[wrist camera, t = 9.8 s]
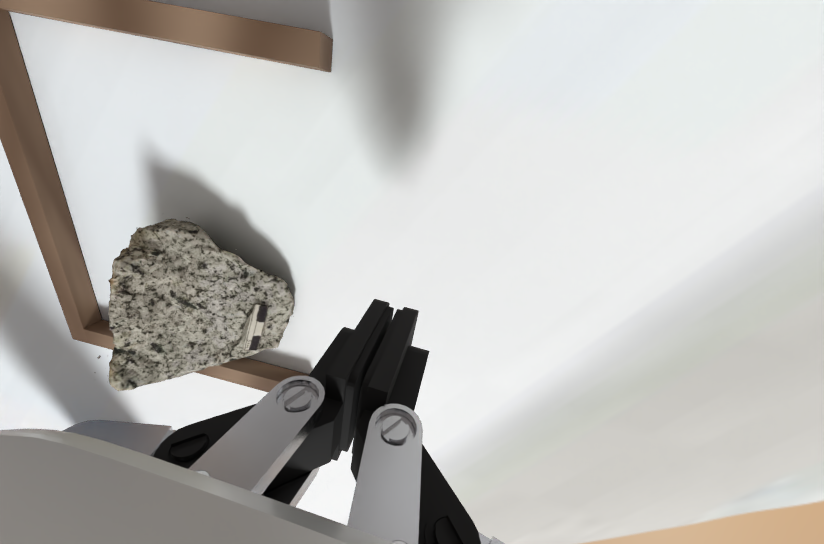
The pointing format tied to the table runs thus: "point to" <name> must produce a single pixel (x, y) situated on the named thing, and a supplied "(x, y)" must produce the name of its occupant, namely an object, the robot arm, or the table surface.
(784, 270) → the table surface
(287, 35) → the frame
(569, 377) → the table surface
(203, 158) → the table surface
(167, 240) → the rock sample
